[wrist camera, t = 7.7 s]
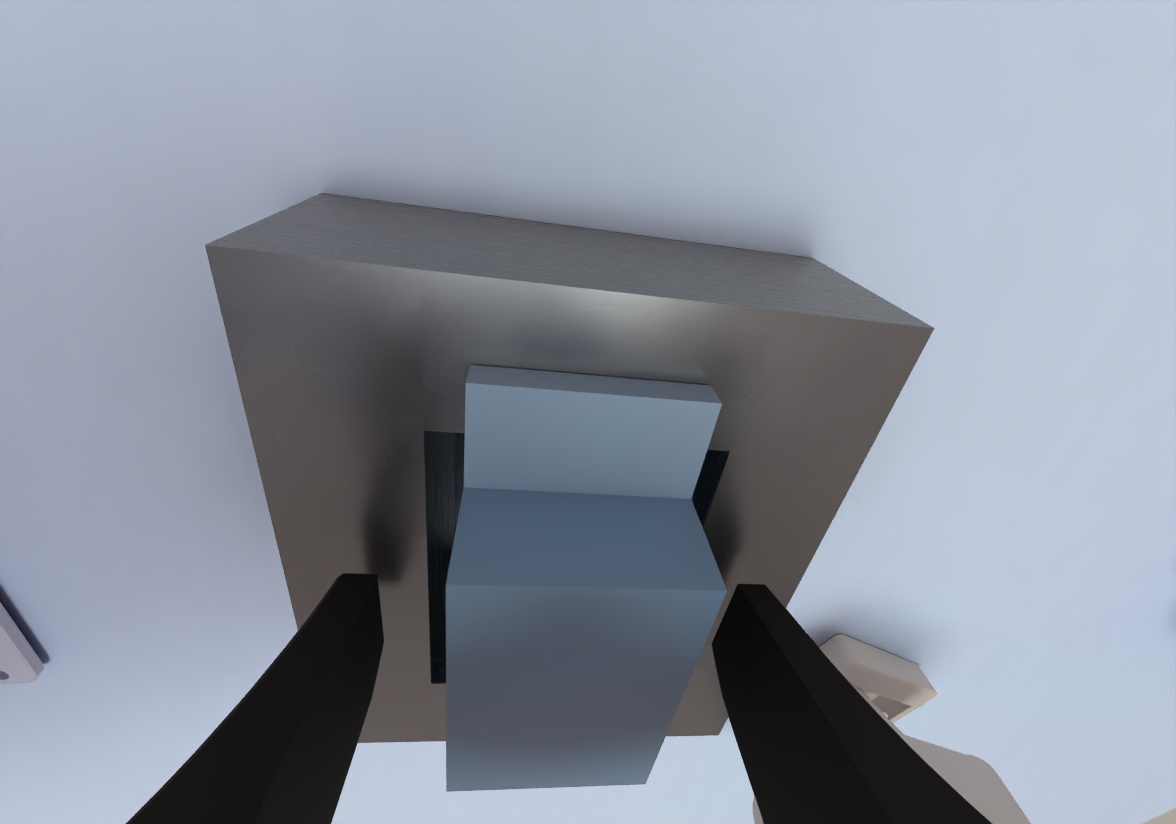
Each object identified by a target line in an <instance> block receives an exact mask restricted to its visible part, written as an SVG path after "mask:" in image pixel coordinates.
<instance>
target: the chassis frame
mask: <svg viewBox="0 0 1176 824" xmlns="http://www.w3.org/2000/svg"><path fill="white" fill-rule="evenodd" d="M205 246H206V251H207V255H208V259H209V263H210V267H211V271H212V275H213V280H214V284H215V288H216V292H217V296H218V300H219V304H220V309H221V313H222V317H223V321H224V325H225V329H226V333H227V338H228V342H229V346H230V350H231V354H232V358H233V362H234V367H235V371H236V375H237V379H238V383H239V387H240V391H241V396H242V400H243V404H244V408H245V412H246V416H247V420H248V425H249V429H250V433H251V437H252V441H253V445H254V449H255V454H256V458H257V462H258V466H259V470H260V474H261V478H262V483H263V487H264V491H265V495H266V499H267V503H268V507H269V512H270V516H271V520H272V524H273V528H274V532H275V536H276V541H277V545H278V549H279V553H280V557H281V561H282V565H283V570H284V574H285V578H286V582H287V586H288V590H289V594H290V599H291V603H292V607H293V611H294V615H295V619H296V623H297V628H298V630H299V629H300V628H301V626H302V625H303V624H304V623H305V621H306V620H307V619H308V617H309V616H310V615H311V613H312V612H313V611H314V609H315V608H316V607H317V605H318V604H319V602H320V601H321V600H322V598H323V597H324V596H325V594H326V593H327V591H328V590H329V589H330V587H331V586H332V584H333V583H334V581H335V580H336V579H337V577H339V576H340V575H341V574H343V573H355V574H377V576H378V585H379V595H380V605H381V614H382V624H383V634H384V645H383V650H382V654H381V659H380V664H379V668H378V673H377V677H376V682H375V686H374V691H373V695H372V699H371V702H370V705H369V709H368V712H367V715H366V718H365V721H364V724H363V727H362V730H361V733H360V737H359V740H358V743H372V742H419V741H446V581H447V575H448V570H449V564H450V559H451V553H452V548H453V542H454V537H455V469H456V433H465V393H466V380H467V375H468V371H469V367H470V365H480V366H491V367H503V368H514V369H526V370H537V371H549V372H560V373H572V374H584V375H595V376H607V377H618V378H630V379H641V380H653V381H664V382H676V383H687V384H699V385H711V386H712V388H713V389H714V391H715V393H716V394H717V396H718V398H719V399H720V401H721V402H722V406H721V409H720V412H719V415H718V418H717V421H716V425H715V428H714V431H713V434H712V437H711V440H710V443H709V446H708V449H707V452H706V455H705V458H704V462H703V465H702V468H701V471H700V474H699V477H698V480H697V483H696V486H695V489H694V492H693V495H692V502H693V504H694V507H695V510H696V512H697V515H698V517H699V520H700V522H701V525H702V528H703V530H704V533H705V535H706V538H707V540H708V543H709V545H710V548H711V551H712V553H713V556H714V558H715V561H716V563H717V566H718V568H719V571H720V574H721V576H722V579H723V581H724V584H725V586H726V589H727V593H726V595H725V597H724V600H723V602H722V604H721V607H720V609H719V611H718V614H717V616H716V619H715V621H714V623H713V626H712V628H711V630H710V633H709V635H708V637H707V640H706V642H705V644H704V647H703V649H702V652H701V654H700V656H699V659H698V661H697V663H696V666H695V668H694V670H693V673H692V675H691V677H690V680H689V682H688V685H687V687H686V689H685V692H684V694H683V696H682V699H681V701H680V703H679V706H678V708H677V710H676V713H675V715H674V718H673V720H672V722H671V725H670V727H669V729H668V732H667V734H666V736H704V735H719V733H720V731H721V730H722V728H723V726H724V724H725V722H726V720H727V718H728V713H727V710H726V707H725V703H724V700H723V697H722V693H721V689H720V684H719V679H718V675H717V670H716V665H715V660H714V655H713V649H712V641H713V639H714V637H715V634H716V632H717V630H718V628H719V625H720V623H721V621H722V618H723V616H724V614H725V612H726V609H727V607H728V605H729V602H730V600H731V598H732V596H733V593H734V591H735V589H736V586H737V584H765V585H766V586H767V587H768V588H769V590H770V591H771V592H772V593H773V594H774V595H775V597H776V598H777V599H778V600H779V601H780V602H781V604H782V605H783V606H784V607H785V608H786V607H787V605H788V603H789V601H790V599H791V598H792V596H793V594H794V592H795V590H796V588H797V586H798V584H799V582H800V581H801V579H802V577H803V575H804V573H805V571H806V569H807V567H808V565H809V564H810V562H811V560H812V558H813V556H814V554H815V552H816V550H817V548H818V547H819V545H820V543H821V541H822V539H823V537H824V535H825V533H826V531H827V530H828V528H829V526H830V524H831V522H832V520H833V518H834V516H835V515H836V513H837V511H838V509H839V507H840V505H841V503H842V501H843V499H844V498H845V496H846V494H847V492H848V490H849V488H850V486H851V484H852V482H853V481H854V479H855V477H856V475H857V473H858V471H859V469H860V467H861V465H862V464H863V462H864V460H865V458H866V456H867V454H868V452H869V450H870V448H871V447H872V445H873V443H874V441H875V439H876V437H877V435H878V433H879V432H880V430H881V428H882V426H883V424H884V422H885V420H886V418H887V416H888V415H889V413H890V411H891V409H892V407H893V405H894V403H895V401H896V399H897V398H898V396H899V394H900V392H901V390H902V388H903V386H904V384H905V382H906V381H907V379H908V377H909V375H910V373H911V371H912V369H913V367H914V365H915V364H916V362H917V360H918V358H919V356H920V354H921V352H922V350H923V349H924V347H925V345H926V343H927V341H928V339H929V337H930V335H931V333H932V332H933V330H934V328H933V327H931V326H930V325H928V324H926V323H924V322H923V321H921V320H919V319H917V318H916V317H914V316H912V315H911V314H909V313H907V312H905V311H904V310H902V309H900V308H898V307H897V306H895V305H893V304H892V303H890V302H888V301H886V300H885V299H883V298H881V297H879V296H878V295H876V294H874V293H872V292H871V291H869V290H867V289H866V288H864V287H862V286H860V285H859V284H857V283H855V282H853V281H852V280H850V279H848V278H847V277H845V276H843V275H841V274H840V273H838V272H836V271H834V270H833V269H831V268H829V267H827V266H826V265H824V264H822V263H821V262H819V261H817V260H815V259H814V258H806V257H799V256H791V255H784V254H776V253H768V252H761V251H753V250H746V249H738V248H731V247H723V246H715V245H708V244H700V243H693V242H685V241H678V240H670V239H662V238H655V237H647V236H640V235H632V234H625V233H617V232H609V231H602V230H594V229H587V228H579V227H572V226H564V225H556V224H549V223H541V222H534V221H526V220H519V219H511V218H504V217H496V216H488V215H481V214H473V213H466V212H458V211H451V210H443V209H435V208H428V207H420V206H413V205H405V204H398V203H390V202H382V201H375V200H367V199H360V198H352V197H345V196H337V195H329V194H322V193H321V194H319V195H316V196H314V197H312V198H310V199H307V200H305V201H303V202H301V203H298V204H296V205H294V206H292V207H289V208H287V209H285V210H283V211H280V212H278V213H276V214H274V215H271V216H269V217H267V218H265V219H263V220H260V221H258V222H256V223H254V224H251V225H249V226H247V227H245V228H242V229H240V230H238V231H236V232H233V233H231V234H229V235H227V236H224V237H222V238H220V239H218V240H215V241H213V242H211V243H209V244H206V245H205Z"/></svg>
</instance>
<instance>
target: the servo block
mask: <svg viewBox="0 0 1176 824" xmlns="http://www.w3.org/2000/svg"><path fill="white" fill-rule="evenodd" d="M721 406H722V402H721V401H720V399H719V398H718V396H717V394H716V393H715V391H714V389H713V388H712V386H711V385H699V384H687V383H676V382H664V381H653V380H641V379H630V378H618V377H607V376H595V375H584V374H572V373H560V372H549V371H537V370H526V369H514V368H503V367H491V366H480V365H470V367H469V371H468V375H467V380H466V393H465V442H464V488H463V493H462V499H461V504H460V510H459V515H458V521H457V526H456V531H455V537H454V542H453V548H452V553H451V559H450V564H449V570H448V575H447V581H446V779H447V791H473V790H500V789H527V788H554V787H581V786H608V785H635V784H646V781H647V779H648V777H649V774H650V772H651V769H652V767H653V765H654V762H655V760H656V758H657V755H658V753H659V751H660V748H661V746H662V743H663V741H664V739H665V736H666V734H667V732H668V729H669V727H670V725H671V722H672V720H673V718H674V715H675V713H676V710H677V708H678V706H679V703H680V701H681V699H682V696H683V694H684V692H685V689H686V687H687V685H688V682H689V680H690V677H691V675H692V673H693V670H694V668H695V666H696V663H697V661H698V659H699V656H700V654H701V652H702V649H703V647H704V644H705V642H706V640H707V637H708V635H709V633H710V630H711V628H712V626H713V623H714V621H715V619H716V616H717V614H718V611H719V609H720V607H721V604H722V602H723V600H724V597H725V595H726V593H727V589H726V586H725V584H724V581H723V579H722V576H721V574H720V571H719V568H718V566H717V563H716V561H715V558H714V556H713V553H712V551H711V548H710V545H709V543H708V540H707V538H706V535H705V533H704V530H703V528H702V525H701V522H700V520H699V517H698V515H697V512H696V510H695V507H694V504H693V502H692V495H693V492H694V489H695V486H696V483H697V480H698V477H699V474H700V471H701V468H702V465H703V462H704V458H705V455H706V452H707V449H708V446H709V443H710V440H711V437H712V434H713V431H714V428H715V425H716V421H717V418H718V415H719V412H720V409H721Z"/></svg>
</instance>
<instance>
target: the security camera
mask: <svg viewBox="0 0 1176 824" xmlns="http://www.w3.org/2000/svg"><path fill="white" fill-rule="evenodd" d="M819 648H820V650H821V651H822V652H823V653H824V654H825V655H826V656H827V658H828V659H829V660H830V661H831V662H832V663H833V664H834V666H835V667H836V668H837V669H838V670H839V671H840V672H841V673H842V675H843V676H844V677H845V678H846V679H847V680H848V681H849V682H850V684H851V685H852V686H853V687H854V688H855V689H856V690H857V691H858V692H859V694H860V695H861V696H862V697H863V698H864V699H865V700H866V701H867V702H868V703H869V704H870V705H871V706H872V708H873V709H874V710H875V711H876V712H877V713H878V714H879V715H880V716H881V717H882V718H883V719H884V720H885V721H886V722H887V723H888V724H889V725H890V726H891V727H892V728H893V729H894V731H895V732H896V733H897V734H898V735H899V736H900V737H901V738H902V739H903V740H904V741H905V742H906V743H907V744H908V745H909V746H910V747H911V748H912V749H913V750H914V751H915V752H916V753H917V754H918V755H919V756H920V757H921V758H922V759H923V760H924V761H925V762H926V763H927V764H928V765H929V766H930V767H932V768H933V769H934V770H935V771H936V772H937V773H938V774H939V775H940V776H941V777H942V778H943V779H944V780H945V781H946V782H947V783H949V784H950V785H951V786H952V787H953V788H954V789H955V790H956V791H957V792H958V793H959V794H960V795H961V796H962V797H963V798H964V799H966V800H967V801H968V802H969V803H970V804H971V805H972V806H973V807H974V808H975V809H977V810H978V811H979V812H980V813H981V814H982V815H983V816H984V817H986V818H987V819H988V820H989V821H990V822H991V823H992V824H1031V823H1030V821H1029V820H1028V818H1027V817H1026V815H1025V814H1024V813H1023V811H1022V810H1021V808H1020V807H1019V805H1018V804H1017V802H1016V801H1015V799H1014V798H1013V796H1012V795H1011V793H1010V792H1009V791H1008V789H1007V788H1006V786H1005V785H1004V783H1003V782H1002V780H1001V779H1000V777H999V776H998V774H997V773H996V772H995V770H994V769H993V768H992V767H991V766H990V765H989V764H988V763H986V762H985V761H984V760H982V759H980V758H978V757H975V756H972V755H965V754H962V753H959V752H956V751H953V750H950V749H947V748H944V747H940V746H937V745H934V744H931V743H928V742H925V741H922V740H919V739H916V738H913V737H909V736H906V735H904V734H903V733H902V732H901V731H900V730H899V729H898V728H897V727H896V726H895V725H894V724H893V723H892V722H895V721H897V720H899V719H900V718H902V717H903V716H905V715H907V714H908V713H910V712H911V711H913V710H915V709H916V708H918V707H919V706H921V705H923V704H924V703H926V702H927V701H929V700H931V699H932V698H934V697H935V696H936V695H937V693H936V691H935V690H934V688H933V687H932V685H931V684H930V682H929V681H928V679H927V678H926V676H925V675H924V673H923V672H922V670H921V669H920V667H919V666H918V665H917V664H915V663H912V662H910V661H907V660H905V659H903V658H900V657H898V656H895V655H893V654H890V653H888V652H885V651H883V650H880V649H878V648H875V647H873V646H871V645H868V644H866V643H863V642H861V641H858V640H856V639H853V638H851V637H848V636H846V635H843V634H838V635H835V636H833V637H832V638H831V639H829V640H828V641H827V642H825V643H824V644H823V645H821V646H820V647H819ZM886 715H888V717H886ZM753 816H754V821H755V824H764V823H763V820H762V817H761V814H760V810H759V807H758V804H757V801H756V798H755V797H754V801H753Z"/></svg>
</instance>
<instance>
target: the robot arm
mask: <svg viewBox="0 0 1176 824" xmlns="http://www.w3.org/2000/svg"><path fill="white" fill-rule="evenodd" d="M383 645H384V634H383V624H382V614H381V605H380V595H379V585H378V576H377V574H355V573H343V574H341V575H340V576H339V577H337V579H336V580H335V581H334V583H333V584H332V586H331V587H330V589H329V590H328V591H327V593H326V594H325V596H324V597H323V598H322V600H321V601H320V602H319V604H318V605H317V607H316V608H315V609H314V611H313V612H312V613H311V615H310V616H309V617H308V619H307V620H306V621H305V623H304V624H303V625H302V626H301V628H300V629H299V630H298V632H297V633H296V634H295V635H294V637H293V638H292V639H291V641H290V642H289V643H288V644H287V646H286V647H285V648H284V649H283V651H282V652H281V653H280V654H279V656H278V657H277V658H276V659H275V660H274V662H273V663H272V664H271V665H270V666H269V668H268V669H267V670H266V671H265V673H264V674H263V675H262V676H261V677H260V679H259V680H258V681H257V682H256V684H255V685H254V686H253V687H252V688H251V690H250V691H249V692H248V693H247V694H246V695H245V697H244V698H243V699H242V700H241V701H240V702H239V703H238V705H237V706H236V707H235V708H234V709H233V710H232V711H231V712H230V714H229V715H228V716H227V717H226V718H225V719H224V720H223V721H222V723H221V724H220V725H219V726H218V727H217V728H216V729H215V730H214V732H213V733H212V734H211V735H210V736H209V737H208V738H207V739H206V741H205V742H204V743H203V744H202V745H201V746H200V747H199V748H198V749H197V751H196V752H195V753H194V754H193V755H192V756H191V757H190V758H189V759H188V760H187V761H186V762H185V763H184V764H183V765H182V767H181V768H180V769H179V770H178V771H177V772H176V773H175V774H174V775H173V776H172V777H171V778H170V779H169V780H168V781H167V782H166V783H165V784H164V785H163V787H162V788H161V789H160V790H159V791H158V792H157V793H156V794H155V795H154V796H153V797H152V798H151V799H150V800H149V801H148V802H147V803H146V804H145V805H144V806H143V807H142V808H141V809H140V810H139V811H138V812H137V813H136V814H135V815H134V816H133V817H132V818H131V819H130V820H129V821H128V822H127V823H126V824H331V822H332V819H333V816H334V813H335V810H336V807H337V804H338V801H339V798H340V795H341V792H342V788H343V785H344V782H345V779H346V776H347V773H348V770H349V767H350V764H351V761H352V758H353V755H354V752H355V749H356V746H357V743H358V740H359V737H360V733H361V730H362V727H363V724H364V721H365V718H366V715H367V712H368V709H369V705H370V702H371V699H372V695H373V691H374V686H375V682H376V677H377V673H378V668H379V664H380V659H381V654H382V650H383ZM712 649H713V655H714V660H715V665H716V670H717V675H718V679H719V684H720V689H721V693H722V697H723V700H724V703H725V707H726V710H727V713H728V716H729V719H730V722H731V725H732V728H733V731H734V735H735V738H736V741H737V744H738V747H739V750H740V753H741V756H742V759H743V762H744V765H745V768H746V771H747V774H748V777H749V780H750V783H751V786H752V789H753V792H754V795H755V798H756V801H757V804H758V807H759V810H760V814H761V817H762V820H763V823H764V824H992V823H991V822H990V821H989V820H988V819H987V818H986V817H984V816H983V815H982V814H981V813H980V812H979V811H978V810H977V809H975V808H974V807H973V806H972V805H971V804H970V803H969V802H968V801H967V800H966V799H964V798H963V797H962V796H961V795H960V794H959V793H958V792H957V791H956V790H955V789H954V788H953V787H952V786H951V785H950V784H949V783H947V782H946V781H945V780H944V779H943V778H942V777H941V776H940V775H939V774H938V773H937V772H936V771H935V770H934V769H933V768H932V767H930V766H929V765H928V764H927V763H926V762H925V761H924V760H923V759H922V758H921V757H920V756H919V755H918V754H917V753H916V752H915V751H914V750H913V749H912V748H911V747H910V746H909V745H908V744H907V743H906V742H905V741H904V740H903V739H902V738H901V737H900V736H899V735H898V734H897V733H896V732H895V731H894V729H893V728H892V727H891V726H890V725H889V724H888V723H887V722H886V721H885V720H884V719H883V718H882V717H881V716H880V715H879V714H878V713H877V712H876V711H875V710H874V709H873V708H872V706H871V705H870V704H869V703H868V702H867V701H866V700H865V699H864V698H863V697H862V696H861V695H860V694H859V692H858V691H857V690H856V689H855V688H854V687H853V686H852V685H851V684H850V682H849V681H848V680H847V679H846V678H845V677H844V676H843V675H842V673H841V672H840V671H839V670H838V669H837V668H836V667H835V666H834V664H833V663H832V662H831V661H830V660H829V659H828V658H827V656H826V655H825V654H824V653H823V652H822V651H821V650H820V648H819V647H818V646H817V645H816V644H815V642H814V641H813V640H812V639H811V638H810V637H809V635H808V634H807V633H806V632H805V631H804V630H803V628H802V627H801V626H800V625H799V624H798V623H797V621H796V620H795V619H794V618H793V617H792V615H791V614H790V613H789V612H788V611H787V609H786V608H785V607H784V606H783V605H782V604H781V602H780V601H779V600H778V599H777V598H776V597H775V595H774V594H773V593H772V592H771V591H770V590H769V588H768V587H767V586H766V585H765V584H737V586H736V589H735V591H734V593H733V596H732V598H731V600H730V602H729V605H728V607H727V609H726V612H725V614H724V616H723V618H722V621H721V623H720V625H719V628H718V630H717V632H716V634H715V637H714V639H713V641H712ZM43 670H44V666H43V663H42V662H41V660H40V659H39V657H38V656H37V654H36V653H35V651H34V650H33V649H32V647H31V646H30V644H29V643H28V641H27V640H26V638H25V637H24V636H23V634H22V633H21V631H20V630H19V628H18V627H17V625H16V624H15V623H14V621H13V620H12V618H11V617H10V615H9V614H8V612H7V611H6V610H5V608H4V607H3V605H2V604H1V602H0V683H27V682H31V681H33V680H35V679H36V678H37V677H38V676H39V675H40V673H41V672H42V671H43Z"/></svg>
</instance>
